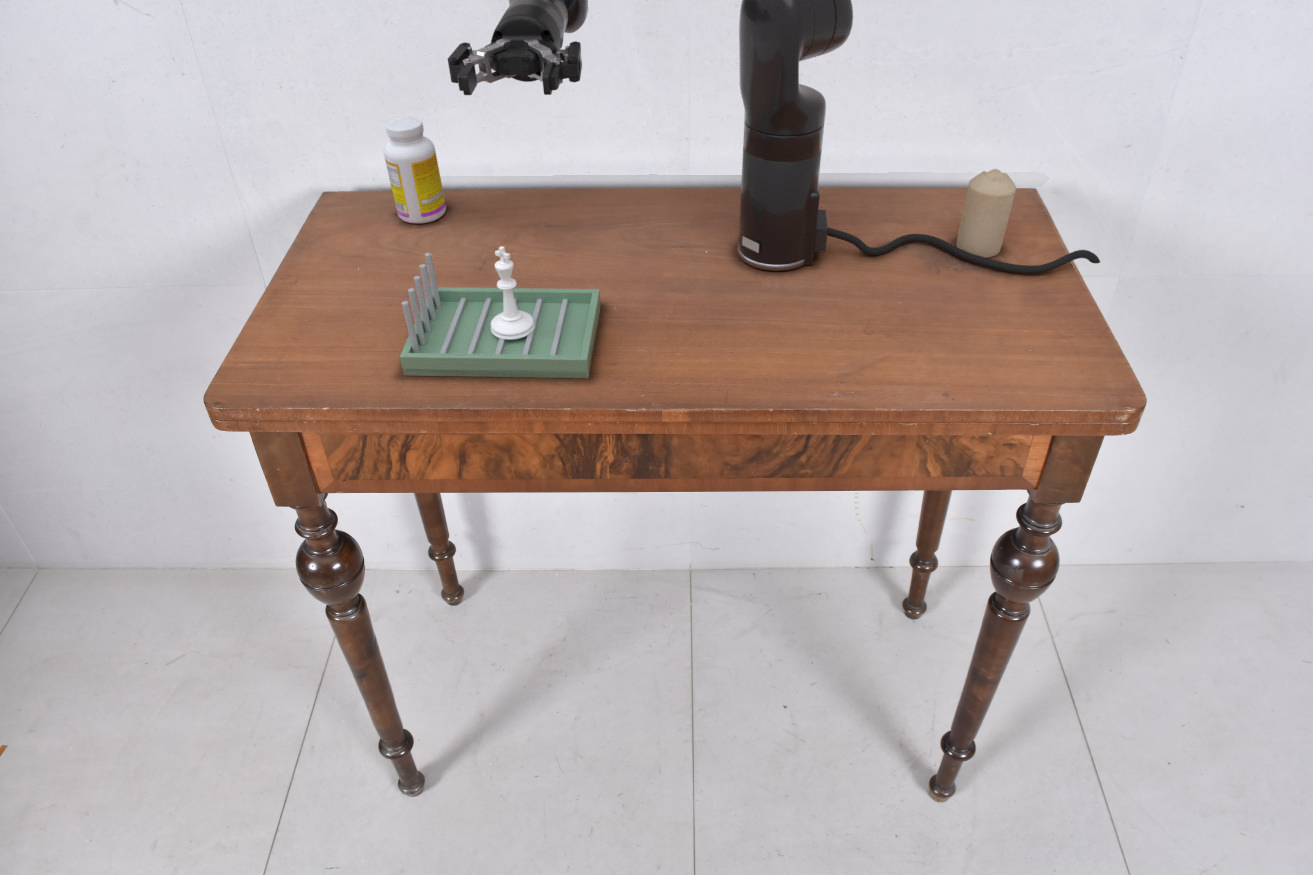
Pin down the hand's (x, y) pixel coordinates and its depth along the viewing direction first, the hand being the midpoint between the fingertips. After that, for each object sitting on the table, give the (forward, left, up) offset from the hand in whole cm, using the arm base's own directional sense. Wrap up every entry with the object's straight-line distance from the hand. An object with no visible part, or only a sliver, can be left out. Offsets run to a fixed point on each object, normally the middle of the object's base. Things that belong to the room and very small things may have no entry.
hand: (506, 86), depth 97 cm
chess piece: (0, +11, -23) cm, 26 cm away
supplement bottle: (+18, -19, -25) cm, 36 cm away
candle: (-56, -11, -25) cm, 62 cm away
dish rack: (+1, +11, -25) cm, 27 cm away
